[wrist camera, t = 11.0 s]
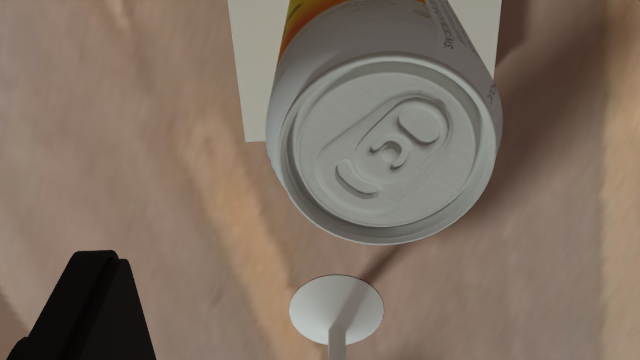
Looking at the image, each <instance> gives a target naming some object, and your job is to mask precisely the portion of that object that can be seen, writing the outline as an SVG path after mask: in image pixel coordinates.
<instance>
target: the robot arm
mask: <svg viewBox="0 0 640 360" xmlns="http://www.w3.org/2000/svg"><path fill="white" fill-rule="evenodd" d="M6 360H156V357H155V353H154V349H153V346H152V342H151V339H150V335H149V332H148V328H147V324H146V321H145V317H144V314H143V310H142V306H141V303H140V299H139V296H138V292H137V288H136V285H135V281H134V278H133V274H132V270H131V267H130V264H129V262H128V260H127V259H119V258H118V256H117V254H116V252H115V251H113V250H98V251H77V252H75V253H74V254H73V256H72V257H71V259H70V260H69V262H68V264H67V266H66V268H65V270H64V271H63V273H62V275H61V277H60V279H59V281H58V283H57V284H56V286H55V288H54V290H53V292H52V294H51V295H50V297H49V299H48V301H47V303H46V305H45V306H44V308H43V310H42V312H41V314H40V316H39V318H38V319H37V321H36V323H35V325H34V327H33V329H32V330H31V332H30V334H29V336H28V337H24V338H22V339H21V340H19V341H18V342H17V343H16V345H15V346H14V348H13V349H12V350H11V352H10V354H9V356H8V357H7V359H6Z"/></svg>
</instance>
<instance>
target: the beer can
mask: <svg viewBox="0 0 640 360" xmlns="http://www.w3.org/2000/svg"><path fill="white" fill-rule="evenodd" d="M502 129H503V113H502V106H501V101H500V97H499V94H498V91H497V88H496V85H495V83H494V81H493V79H492V77H491V75H490V73H489V71H488V70H487V68H486V66H485V64H484V63H483V61H482V59H481V58H480V56H479V54H478V52H477V51H476V49H475V47H474V45H473V44H472V42H471V40H470V38H469V37H468V35H467V33H466V31H465V30H464V28H463V26H462V24H461V23H460V21H459V19H458V17H457V16H456V14H455V12H454V10H453V9H452V7H451V5H450V4H449V2H448V0H290V1H289V6H288V11H287V16H286V21H285V26H284V31H283V36H282V41H281V46H280V51H279V56H278V61H277V66H276V71H275V76H274V81H273V86H272V91H271V96H270V101H269V106H268V111H267V117H266V126H265V136H266V145H267V152H268V155H269V159H270V162H271V165H272V167H273V169H274V172H275V174H276V175H277V177H278V179H279V181H280V182H281V184H282V185H283V187H284V188H285V189H286V191H287V193H288V195H289V197H290V198H291V200H292V202H293V203H294V204H295V206H296V207H297V208H298V209H299V210H300V212H301V213H302V214H303V215H304V216H305V217H306V218H308V219H309V220H310V221H311V222H312V223H314V224H315V225H317V226H318V227H320V228H321V229H323V230H324V231H326V232H328V233H330V234H332V235H334V236H337V237H340V238H342V239H345V240H349V241H352V242H357V243H362V244H370V245H394V244H402V243H407V242H412V241H416V240H419V239H423V238H425V237H428V236H430V235H433V234H435V233H437V232H439V231H441V230H443V229H445V228H446V227H448V226H450V225H451V224H453V223H454V222H456V221H457V220H458V219H459V218H461V217H462V216H463V215H464V214H465V213H466V212H467V211H468V210H469V209H470V208H471V207H472V206H473V205H474V204H475V203H476V201H477V200H478V199H479V198H480V196H481V194H482V193H483V191H484V190H485V188H486V186H487V184H488V182H489V180H490V178H491V175H492V172H493V169H494V165H495V160H496V156H497V153H498V150H499V147H500V142H501V138H502Z"/></svg>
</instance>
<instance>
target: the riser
mask: <svg viewBox="0 0 640 360" xmlns="http://www.w3.org/2000/svg"><path fill="white" fill-rule="evenodd" d="M289 1H290V0H228V7H229V14H230V22H231V30H232V38H233V46H234V54H235V62H236V70H237V78H238V86H239V94H240V102H241V110H242V118H243V126H244V134H245V141H246V142H252V141H266V136H265V126H266V117H267V111H268V106H269V101H270V96H271V91H272V86H273V81H274V76H275V71H276V66H277V61H278V56H279V51H280V46H281V41H282V36H283V31H284V26H285V21H286V16H287V11H288V6H289ZM448 2H449V4H450V5H451V7H452V9H453V10H454V12H455V14H456V16H457V17H458V19H459V21H460V23H461V24H462V26H463V28H464V30H465V31H466V33H467V35H468V37H469V38H470V40H471V42H472V44H473V45H474V47H475V49H476V51H477V52H478V54H479V56H480V58H481V59H482V61H483V63H484V64H485V66H486V68H487V70H488V71H489V73H490V75H491V77H492V79H494V69H495V60H496V50H497V41H498V31H499V22H500V12H501V3H502V0H448Z"/></svg>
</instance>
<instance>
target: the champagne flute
mask: <svg viewBox="0 0 640 360" xmlns="http://www.w3.org/2000/svg"><path fill="white" fill-rule="evenodd" d="M289 313H290V318H291V321H292V323H293V325H294V326H295V328H296V329H297V330H298V331H299V332H300V333H301V334H302V335H304V336H305V337H307V338H309V339H310V340H312V341H315V342H318V343H321V344H326V345H328V360H346V345H347V344H351V343H355V342H358V341H360V340H363V339H364V338H366V337H368V336H370V335H371V334H372V333H373V332H374V331H375V330H376V329H377V328H378V326H379V325H380V323H381V321H382V319H383V314H384V306H383V302H382V299H381V297H380V296H379V294H378V293H377V291H376V290H375V289H374V288H373V287H372V286H370V285H369V284H367V283H366V282H364V281H362V280H359V279H357V278H354V277H349V276H343V275H331V276H324V277H320V278H316V279H314V280H312V281H309V282H308V283H306V284H305V285H303V286H302V287H301V288H300V289H299V290H298V291H297V292H296V293H295V294H294V296H293V298H292V300H291V303H290V308H289Z"/></svg>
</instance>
